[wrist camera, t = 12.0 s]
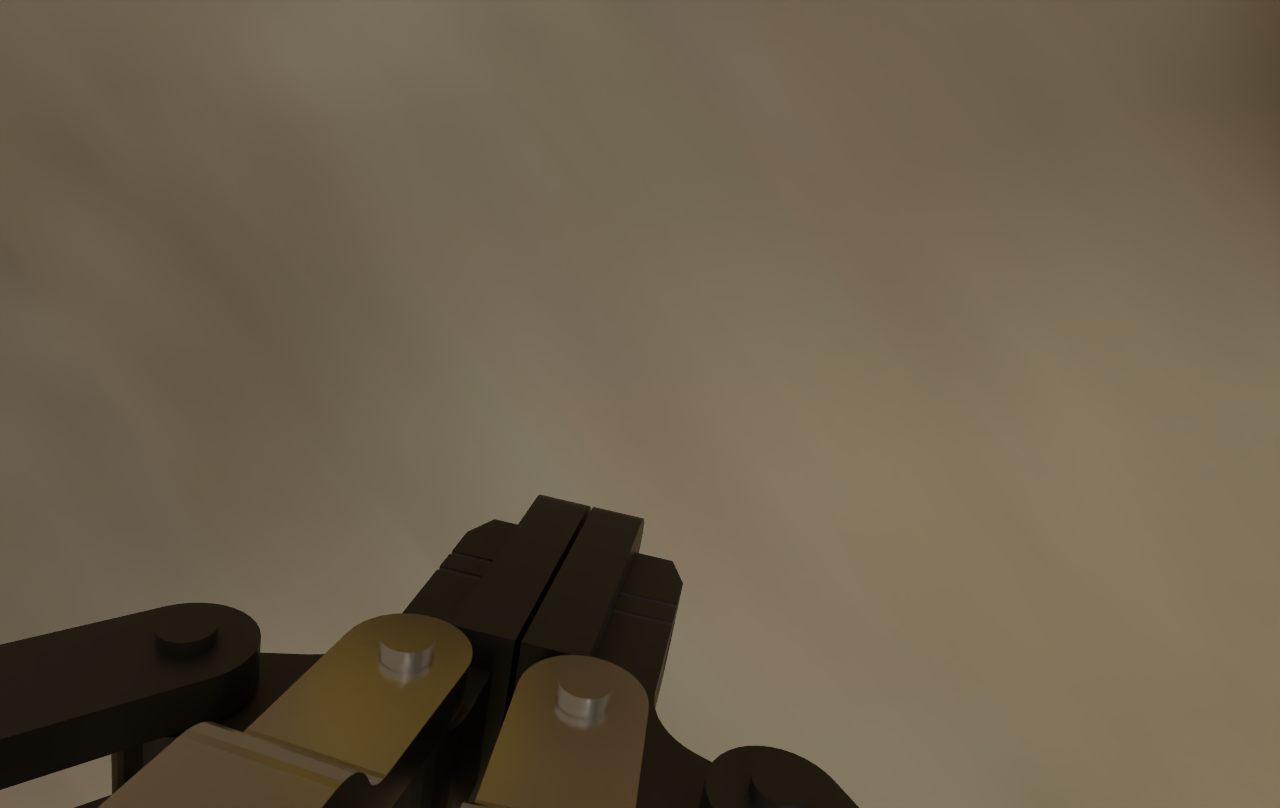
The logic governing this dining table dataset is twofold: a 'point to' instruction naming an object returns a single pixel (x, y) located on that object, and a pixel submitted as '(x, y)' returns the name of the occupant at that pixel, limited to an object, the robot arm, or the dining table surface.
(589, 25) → the dining table surface
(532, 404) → the dining table surface
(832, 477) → the dining table surface
